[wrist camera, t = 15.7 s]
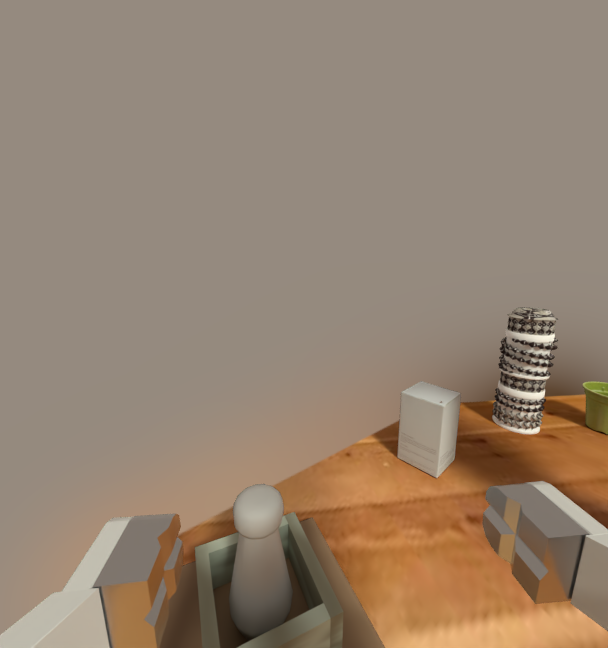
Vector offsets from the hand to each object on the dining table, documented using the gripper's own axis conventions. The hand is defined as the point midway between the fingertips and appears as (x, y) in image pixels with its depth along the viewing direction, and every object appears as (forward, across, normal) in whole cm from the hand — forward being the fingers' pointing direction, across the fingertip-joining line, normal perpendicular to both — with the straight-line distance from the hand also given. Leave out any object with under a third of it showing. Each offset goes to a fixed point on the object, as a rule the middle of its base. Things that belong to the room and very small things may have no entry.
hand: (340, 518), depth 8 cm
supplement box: (+37, -24, +28) cm, 52 cm away
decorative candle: (+46, -50, +28) cm, 73 cm away
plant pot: (+42, -66, +28) cm, 84 cm away
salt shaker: (+15, +4, +26) cm, 30 cm away
